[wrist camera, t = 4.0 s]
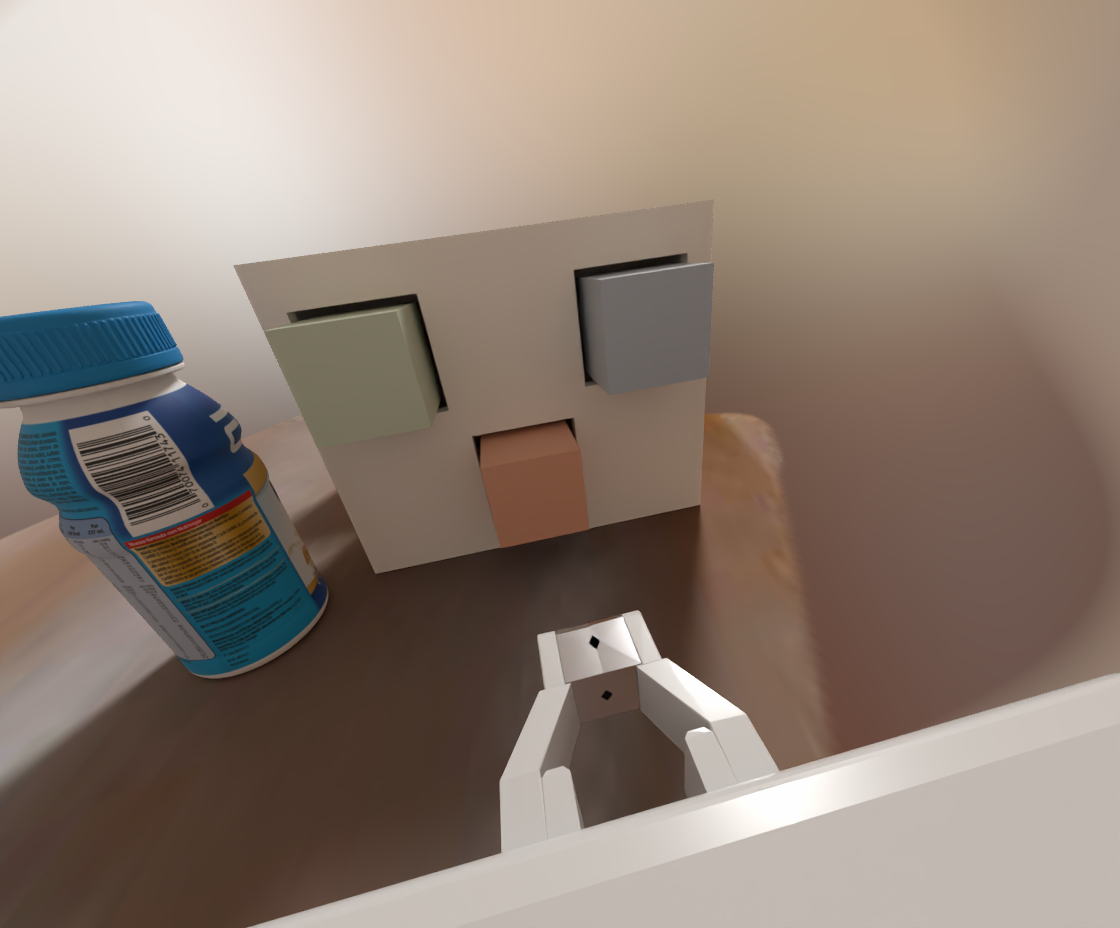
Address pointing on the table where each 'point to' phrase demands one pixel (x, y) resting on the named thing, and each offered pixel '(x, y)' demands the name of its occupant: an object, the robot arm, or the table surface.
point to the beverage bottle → (157, 485)
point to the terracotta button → (534, 482)
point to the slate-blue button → (646, 325)
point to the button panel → (501, 373)
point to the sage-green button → (359, 373)
